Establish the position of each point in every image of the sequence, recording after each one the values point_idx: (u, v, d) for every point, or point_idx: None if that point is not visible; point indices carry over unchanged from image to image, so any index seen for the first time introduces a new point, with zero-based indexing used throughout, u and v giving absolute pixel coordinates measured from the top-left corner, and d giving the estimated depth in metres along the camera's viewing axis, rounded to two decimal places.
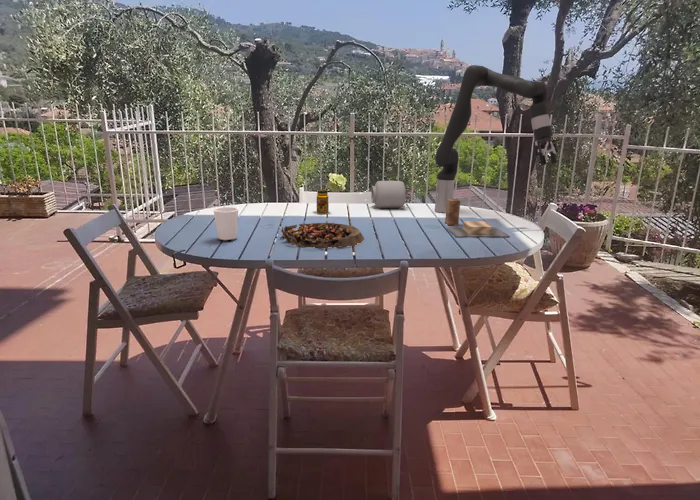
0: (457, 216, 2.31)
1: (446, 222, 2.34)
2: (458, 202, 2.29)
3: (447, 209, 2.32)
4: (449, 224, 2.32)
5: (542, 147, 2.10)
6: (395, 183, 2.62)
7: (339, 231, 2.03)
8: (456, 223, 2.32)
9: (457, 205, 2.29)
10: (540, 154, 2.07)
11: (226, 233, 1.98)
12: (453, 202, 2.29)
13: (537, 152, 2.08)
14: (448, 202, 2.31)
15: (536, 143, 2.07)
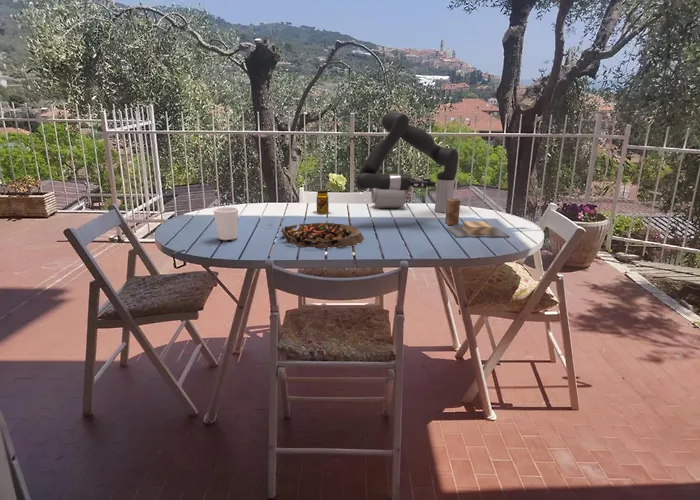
0: (457, 216, 2.31)
1: (446, 222, 2.34)
2: (458, 202, 2.29)
3: (447, 209, 2.32)
4: (449, 224, 2.32)
5: None
6: None
7: (339, 231, 2.03)
8: (456, 223, 2.32)
9: (457, 205, 2.29)
10: None
11: (226, 233, 1.98)
12: (453, 202, 2.29)
13: None
14: (448, 202, 2.31)
15: None
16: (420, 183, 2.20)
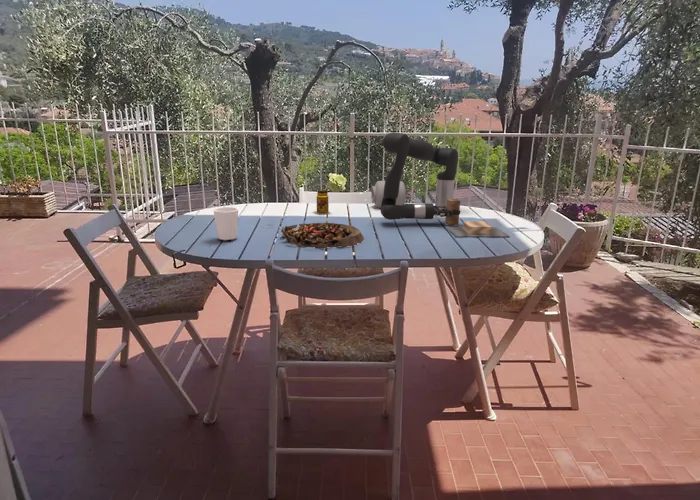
0: (457, 216, 2.31)
1: (446, 222, 2.34)
2: (458, 202, 2.29)
3: None
4: (449, 224, 2.32)
5: None
6: None
7: (339, 231, 2.03)
8: (456, 223, 2.32)
9: (457, 205, 2.29)
10: None
11: (226, 233, 1.98)
12: (453, 202, 2.29)
13: (443, 207, 2.37)
14: (448, 202, 2.31)
15: None
16: (446, 212, 2.26)
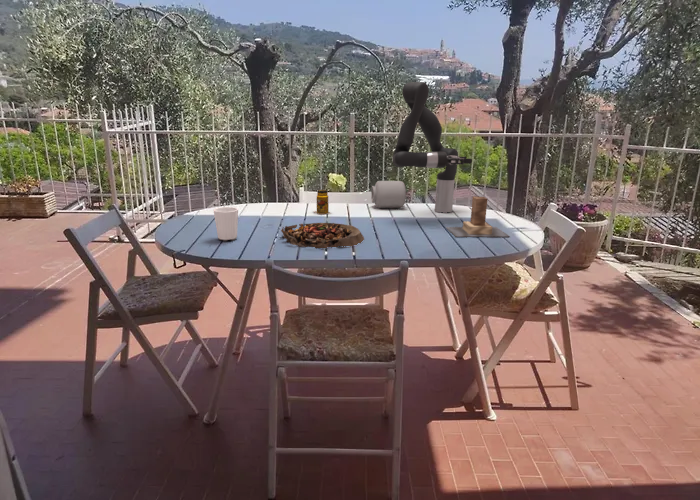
0: (484, 215, 2.16)
1: (472, 221, 2.19)
2: (485, 200, 2.14)
3: (473, 208, 2.17)
4: (475, 224, 2.16)
5: None
6: (395, 183, 2.62)
7: (339, 231, 2.03)
8: (483, 223, 2.17)
9: (484, 203, 2.14)
10: None
11: (226, 233, 1.98)
12: (480, 200, 2.13)
13: None
14: (474, 200, 2.15)
15: None
16: (457, 160, 2.24)
